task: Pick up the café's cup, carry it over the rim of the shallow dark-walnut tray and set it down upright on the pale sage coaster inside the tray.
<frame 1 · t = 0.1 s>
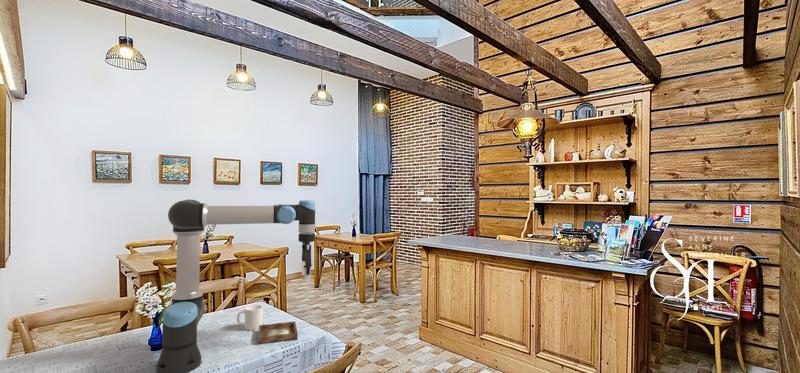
hand: (306, 278, 173), 28 cm above the table, fingers open, 13 cm apart
cup: (249, 328, 184), on the table
tray: (277, 335, 175), on the table
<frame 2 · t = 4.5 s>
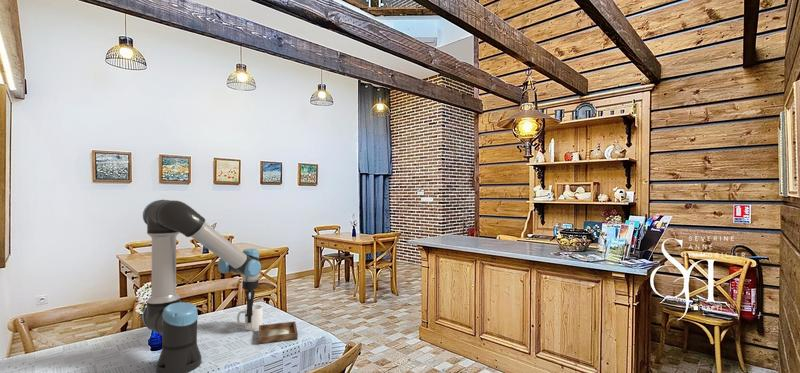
hand: (249, 325, 184), 1 cm above the table, fingers closed on cup, 8 cm apart
cup: (249, 328, 184), on the table, touching gripper
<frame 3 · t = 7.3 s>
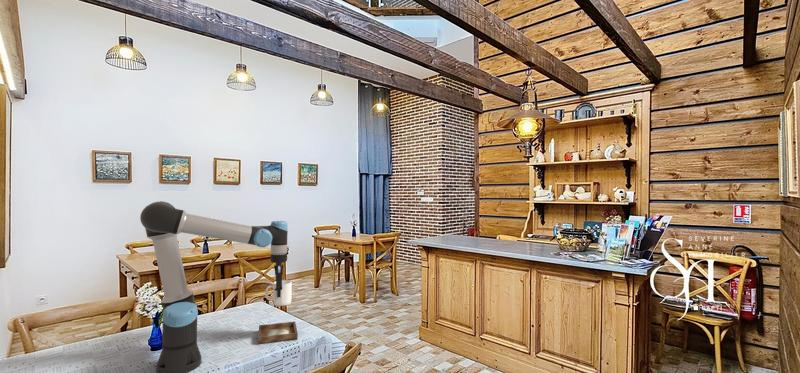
hand: (278, 300, 175), 16 cm above the table, fingers closed on cup, 8 cm apart
cup: (278, 304, 175), point 15 cm above the table, touching gripper
when the fingers open (4 cm above the table, at t = 10.2 s): cup drops 2 cm, resting on tray.
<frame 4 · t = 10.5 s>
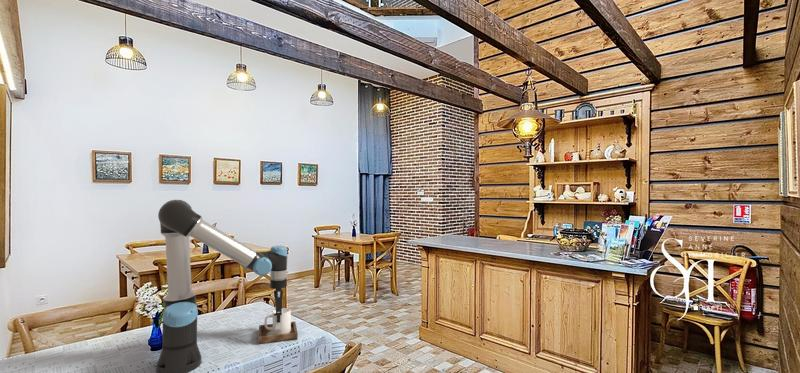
hand: (277, 324, 175), 5 cm above the table, fingers open, 12 cm apart
cup: (277, 333, 175), point 1 cm above the table, touching tray
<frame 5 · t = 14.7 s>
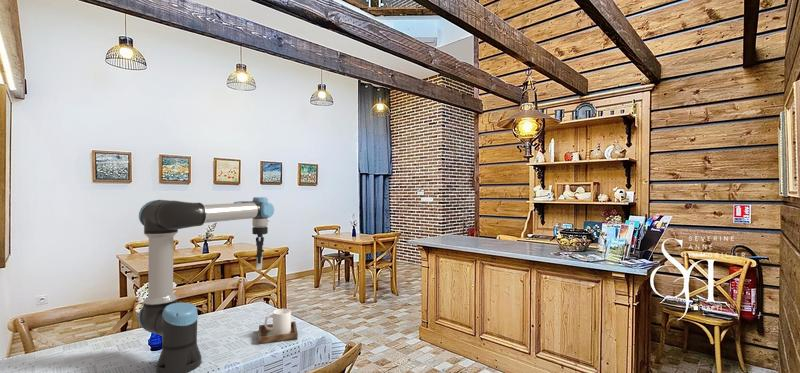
hand: (259, 266, 193), 29 cm above the table, fingers open, 13 cm apart
nothing on the table moved.
at the end: cup inside the target area on the tray (0.1 cm from its centre), point 0.9 cm above the tray's base; cup tilted 0°; the gripper is holding nothing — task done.
